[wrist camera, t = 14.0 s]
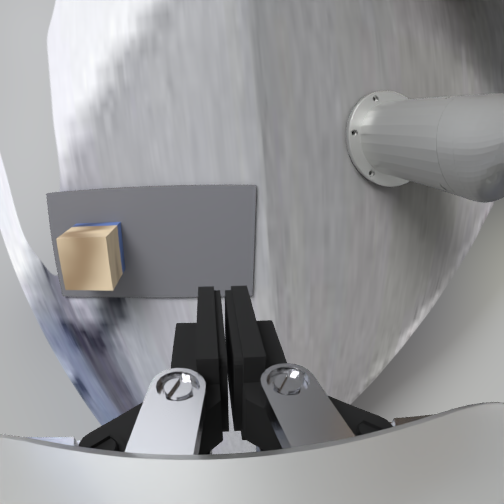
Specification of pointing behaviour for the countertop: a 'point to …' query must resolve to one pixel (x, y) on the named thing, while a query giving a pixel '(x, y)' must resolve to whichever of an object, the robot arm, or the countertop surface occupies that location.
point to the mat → (167, 236)
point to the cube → (91, 256)
